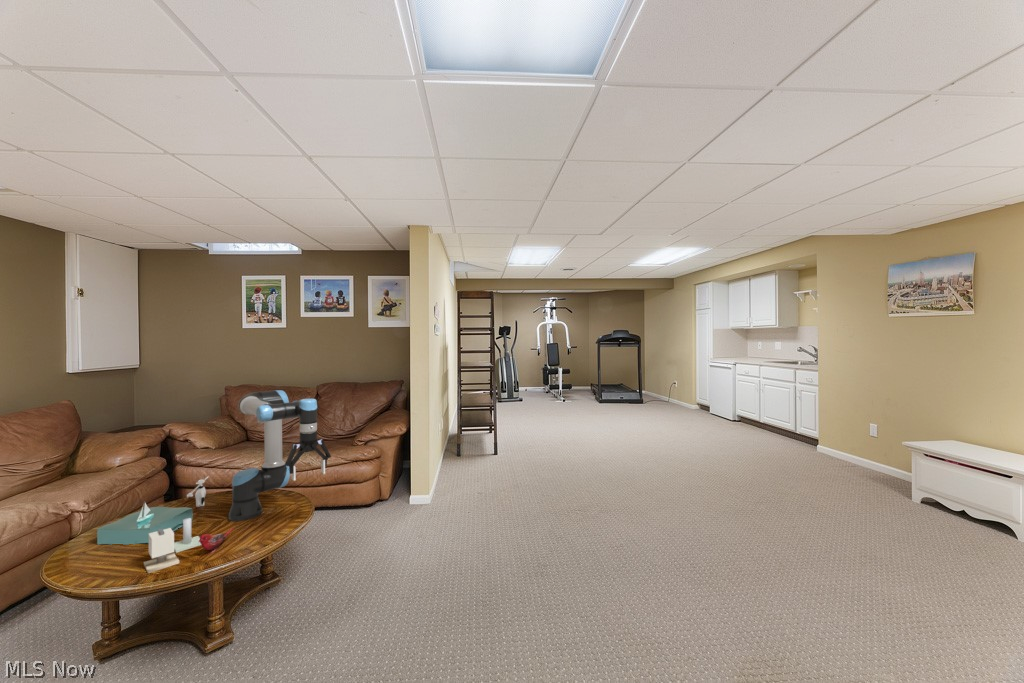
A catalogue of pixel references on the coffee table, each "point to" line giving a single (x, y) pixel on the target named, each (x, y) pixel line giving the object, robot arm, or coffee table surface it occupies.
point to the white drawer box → (161, 542)
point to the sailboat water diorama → (142, 525)
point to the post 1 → (161, 562)
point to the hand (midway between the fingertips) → (308, 476)
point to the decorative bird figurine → (212, 540)
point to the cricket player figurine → (199, 493)
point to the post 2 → (186, 538)
